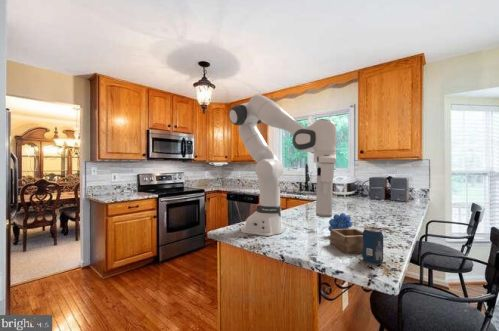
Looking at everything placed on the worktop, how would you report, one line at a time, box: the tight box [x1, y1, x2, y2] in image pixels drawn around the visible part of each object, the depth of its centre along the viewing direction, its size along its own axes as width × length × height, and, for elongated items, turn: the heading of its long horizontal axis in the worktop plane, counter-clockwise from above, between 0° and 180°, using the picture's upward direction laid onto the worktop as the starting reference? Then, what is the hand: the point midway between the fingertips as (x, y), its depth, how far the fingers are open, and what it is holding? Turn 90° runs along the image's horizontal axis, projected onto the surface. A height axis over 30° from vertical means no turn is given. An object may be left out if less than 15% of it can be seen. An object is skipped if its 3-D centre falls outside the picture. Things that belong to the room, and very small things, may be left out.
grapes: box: [327, 212, 353, 232], centre depth 120 cm, size 12×7×12 cm, turn 82°
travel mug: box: [315, 167, 334, 219], centre depth 96 cm, size 6×7×20 cm
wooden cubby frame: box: [329, 228, 363, 254], centre depth 102 cm, size 12×11×7 cm
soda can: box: [361, 227, 384, 265], centre depth 88 cm, size 7×7×12 cm
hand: (323, 192), depth 96 cm, fingers closed on travel mug, 6 cm apart
